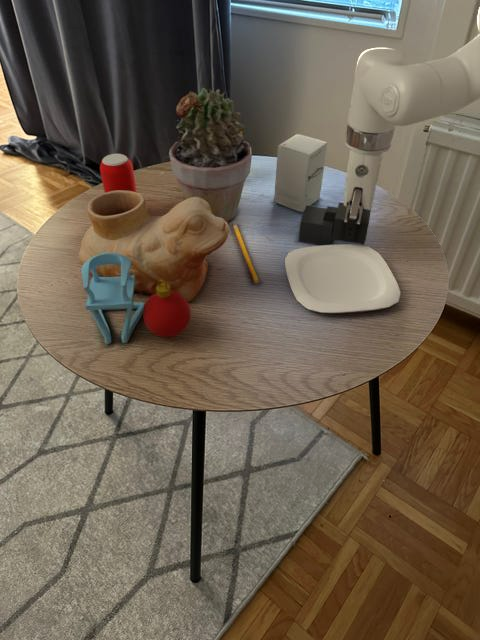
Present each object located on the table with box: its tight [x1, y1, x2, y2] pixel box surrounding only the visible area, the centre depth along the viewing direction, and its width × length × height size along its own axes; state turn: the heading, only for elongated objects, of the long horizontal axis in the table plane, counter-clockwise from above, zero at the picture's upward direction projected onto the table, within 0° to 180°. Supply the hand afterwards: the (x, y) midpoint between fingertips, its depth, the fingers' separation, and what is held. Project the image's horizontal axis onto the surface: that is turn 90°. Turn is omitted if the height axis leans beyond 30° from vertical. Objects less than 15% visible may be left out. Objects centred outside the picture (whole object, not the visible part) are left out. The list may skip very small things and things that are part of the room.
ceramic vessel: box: [78, 190, 230, 303], centre depth 80 cm, size 14×26×15 cm, turn 77°
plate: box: [284, 243, 402, 314], centre depth 83 cm, size 18×18×2 cm
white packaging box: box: [273, 133, 328, 213], centre depth 99 cm, size 7×7×13 cm
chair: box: [80, 253, 146, 345], centre depth 72 cm, size 8×8×12 cm
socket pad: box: [298, 205, 334, 246], centre depth 92 cm, size 6×6×4 cm
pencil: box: [232, 222, 259, 284], centre depth 90 cm, size 1×18×1 cm, turn 13°
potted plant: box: [160, 87, 258, 223], centre depth 92 cm, size 18×20×25 cm
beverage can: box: [99, 153, 138, 193], centre depth 95 cm, size 6×6×12 cm
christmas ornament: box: [142, 280, 192, 338], centre depth 72 cm, size 7×7×10 cm
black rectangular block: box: [325, 201, 372, 245], centre depth 90 cm, size 8×6×4 cm
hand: (350, 228), depth 91 cm, fingers closed on black rectangular block, 6 cm apart
